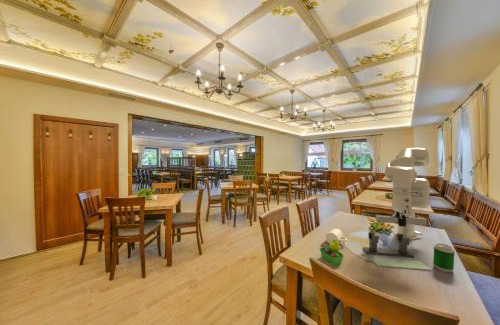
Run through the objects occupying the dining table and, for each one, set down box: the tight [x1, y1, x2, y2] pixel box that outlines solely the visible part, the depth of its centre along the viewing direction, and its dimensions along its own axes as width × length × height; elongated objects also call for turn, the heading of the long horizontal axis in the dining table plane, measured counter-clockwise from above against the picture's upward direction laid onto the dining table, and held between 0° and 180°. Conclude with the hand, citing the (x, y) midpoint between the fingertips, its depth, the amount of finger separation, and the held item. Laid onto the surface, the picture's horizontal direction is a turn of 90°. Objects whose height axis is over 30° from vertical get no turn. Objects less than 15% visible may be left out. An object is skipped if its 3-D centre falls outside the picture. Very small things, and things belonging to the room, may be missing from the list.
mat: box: [370, 256, 432, 272], centre depth 106 cm, size 25×8×1 cm, turn 81°
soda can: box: [432, 243, 455, 273], centre depth 102 cm, size 8×8×12 cm
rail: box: [375, 214, 428, 226], centre depth 106 cm, size 23×3×3 cm, turn 81°
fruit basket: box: [319, 239, 345, 266], centre depth 110 cm, size 11×9×11 cm
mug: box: [325, 228, 348, 245], centre depth 131 cm, size 12×10×8 cm
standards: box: [362, 231, 415, 258], centre depth 118 cm, size 25×6×11 cm, turn 81°
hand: (400, 224), depth 106 cm, fingers closed on rail, 3 cm apart
